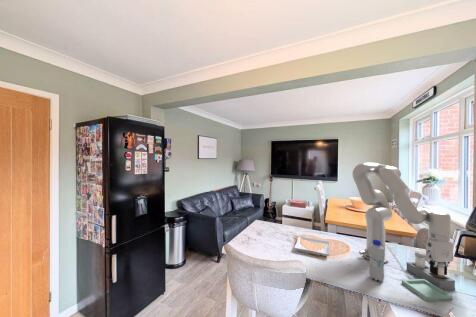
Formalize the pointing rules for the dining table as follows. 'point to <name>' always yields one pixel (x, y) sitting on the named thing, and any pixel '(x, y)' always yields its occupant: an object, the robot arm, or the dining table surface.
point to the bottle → (376, 261)
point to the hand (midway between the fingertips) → (438, 273)
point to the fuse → (420, 259)
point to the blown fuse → (440, 270)
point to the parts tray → (426, 290)
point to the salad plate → (320, 252)
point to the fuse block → (431, 276)
